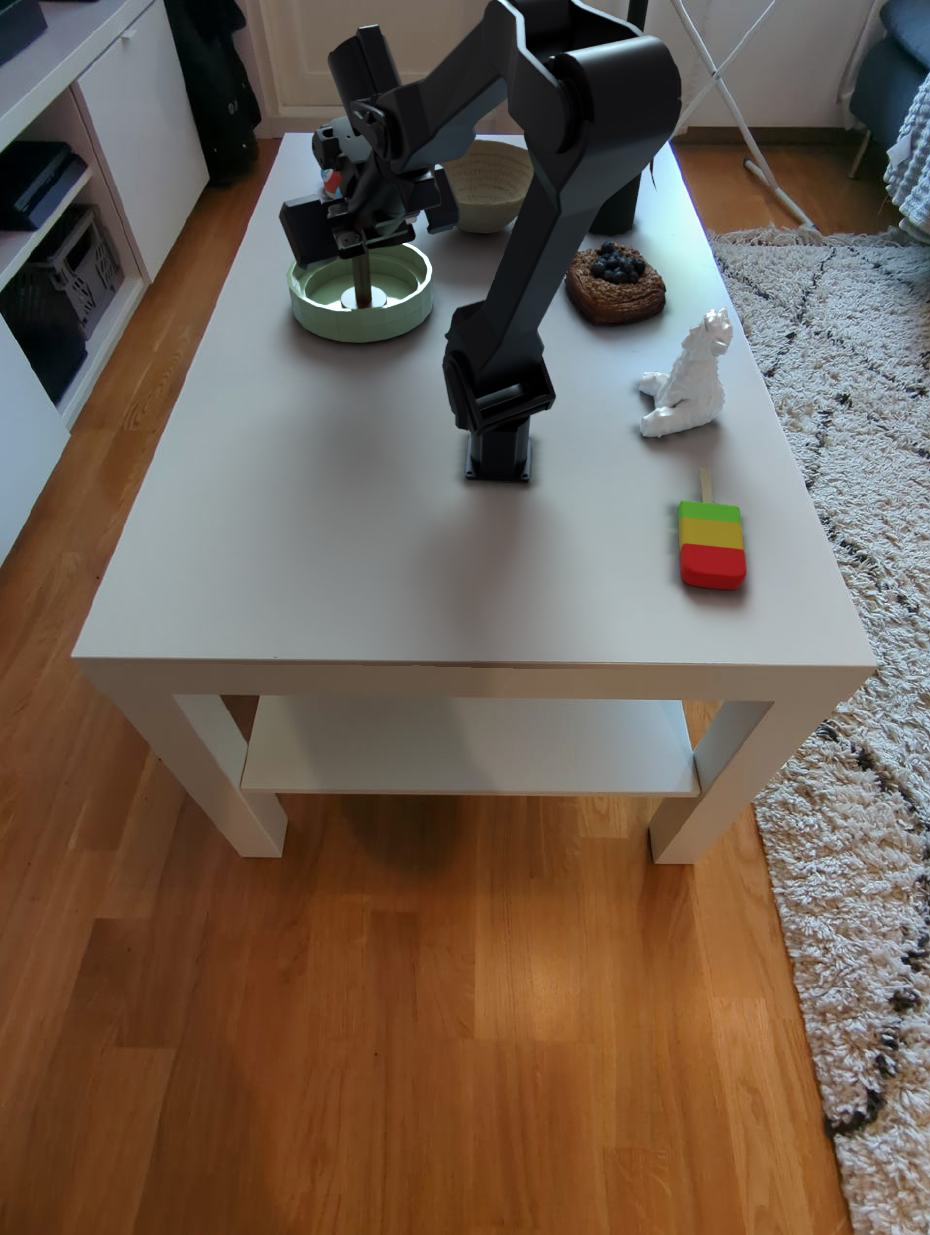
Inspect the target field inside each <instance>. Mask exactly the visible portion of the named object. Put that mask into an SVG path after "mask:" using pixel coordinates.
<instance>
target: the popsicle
mask: <svg viewBox="0 0 930 1235" xmlns="http://www.w3.org/2000/svg"><path fill="white" fill-rule="evenodd" d="M711 471H712V470H711V468H710V467H707V466H701V467H700V469H699V479H700V493H701V495H700V496H701V501H693V500H692V501H690V500H680V502H679V503H678V507H677V521H678V522H677V524H678V525H677V526H678V544H679V546H678V548H679V568H680V570H679V572H680V575H681V579H682V581H684V582H685V583H686V584H688V585H690V586H692V587H693V586H694V587H699V588H707V589H717V590H728V591H732V590H736V589H738V588H740V587H741V586H742V584H744V580H745V579H746V576H747V562H746V553H745V544H744V536H743V528H742V527H743V526H742V518H741V517H742V516H741V510H740V506H738V505H731V504H721V503H714V496H713V484H712V472H711Z"/></svg>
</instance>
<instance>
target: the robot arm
mask: <svg viewBox="0 0 930 1235" xmlns="http://www.w3.org/2000/svg"><path fill="white" fill-rule="evenodd" d="M626 21H627V20H624V19H621V18H619V17H616V16H614V15H611V14H609V13H607V12H604V11H602V10H600V9H597V8H594V7H592V6H590V5H587V4H585V3H583V2H582V1H581V0H490V1H488V2H487V4H486V6H485V8H484V12H483V15H482V17H481V18H480V19H479V20H478V21H477V23H475V24H474V26H472V28H471V29H470V30H469V31H468V32H467V33H466V34H465V35H464V36H463V37H462V38H461V39H460V40H459V41H458V43H456V45H455V46H454V47H453V48H451V50H450V51H449V52H448V53H447V54H446V55H445V56H444V57H443V58H442V60H441V61H439V63H438V64H437V65H435V67H434V68H433V69H432V70H431V71H430V72H428V74H427V75H426V76H425V77H424V78H421V79H419V80H415V81H413V82H410V83H406V84H403V81H402V77H401V76H400V71H399V70H398V66H397V63H396V61H395V58H394V54H393V52H392V50H391V46H390V44H389V41H388V38H387V37H386V35H384V34H383V33H382V30H381V28H380V25H379V24H377V23H376V24H371V25H366V26H361V27H357V29H356V32H355V35H353V36H351V37H349V38H347V39H345V40H344V41H343V42H341V43H340V44H338V45H337V46H336V47H335V48H334V49H333V50H332V51H330V52H329V53H328V55H327V60H326V61H327V62H326V63H327V65H328V68H329V70H330V74H331V76H332V79H333V81H334V85H335V87H336V89H337V92H338V95H339V98H340V100H341V103H342V105H343V108H344V111H345V114H346V116H340V117H335V118H333V119H330V120H329V122H328V123H325V124H321V125H320V128H318V129H316V130H315V131H314V133H313V135H312V137H311V151H312V154H313V156H314V159H315V160H316V161H317V164H318V166H319V168H320V170H321V169H322V170H328V169H332V170H333V171H334V172H339V174H340V176H341V181H340V183H339V185H338V187H339V190H340V192H341V195H342V197H341V198H337V199H333V198H332V199H329V200H325V201H323V202H321V199H320V198H319V197H318V196H317V195H316V194H315V193H314V194H309V195H305V196H302V197H297V198H294V199H293V198H292V199H289V200H286V201H283V203H282V205H281V207H280V211H279V214H278V219H279V222H280V224H281V226H282V229H283V231H284V232H283V233H284V234H285V237H286V239H287V241H288V245H289V247H290V250H291V252H292V255H293V256H294V260H296V262H297V265H298V267H300V268H302V269H303V270H305V271H306V270H310V269H313V268H317V267H320V266H324V265H327V264H329V263H331V262H333V261H335V260H336V259H337V257H339V258H340V259H341V260H348V259H351V258H355V257H358V256H362V255H365V254H366V253H365V250H364V248H363V245H362V242H363V241H364V243H365V245H366V244H368V248H369V249H377V248H385V247H394V246H397V245H401V244H405V243H408V244H409V243H412V242H413V241H415V240H416V237H417V234H416V231H415V229H414V225H413V224H414V223H416V222H417V221H418V217H419V215H420V214H421V212H422V211H423V212H424V214H425V217H426V220H427V223H428V225H427V226H426V231H427V234H428V235H431V236H435V235H437V234H440V233H444V232H449V231H451V230H453V229H454V228H455V227H457V226H456V224H457V223H458V222H459V219H460V207H459V204H458V201H457V198H456V195H455V192H454V190H453V187H452V184H451V181H450V178H449V175H448V172H447V171H446V170H445V169H444V168H443V167H442V166H440V165H439V164H441V163H445V162H449V161H453V160H457V159H460V158H461V157H462V156H463V155H464V154H465V152H466V151H467V149H468V148H469V147H470V145H471V144H472V143H473V141H474V140H475V139H476V137H477V133H476V129H475V126H476V125H477V124H478V123H479V121H481V119H483V118H484V117H486V116H487V115H488V114H489V113H491V112H492V111H493V110H494V109H495V108H497V107H498V106H499V105H501V104H502V103H503V102H505V101H506V100H507V113H508V115H509V117H510V118H511V119H512V120H513V122H515V123H516V124H517V125H518V127H520V129H522V131H523V140H524V142H525V146H526V150H528V152H529V156H530V159H531V162H532V165H533V168H534V173H533V177H532V180H531V183H530V185H529V188H528V190H527V193H526V196H525V198H524V201H523V203H522V206H521V209H520V211H519V214H518V216H517V217H516V218H515V222H514V225H513V227H512V229H511V233H510V235H509V237H508V241H507V243H506V245H505V248H504V250H503V253H502V255H501V258H500V260H499V264H498V266H497V268H496V270H495V274H494V276H493V279H492V281H491V284H490V287H489V289H488V292H487V295H486V296H485V298H483V299H480V300H477V301H474V302H471V303H467V304H464V305H462V306H457V307H456V309H455V310H454V311H453V313H452V315H451V321H450V325H449V329H448V331H447V332H446V333H444V338H445V339H446V340H447V342H446V345H445V348H444V355H443V357H442V364H441V366H442V373H443V378H444V383H445V389H446V392H447V393H446V394H447V399H448V405H449V407H450V411H451V413H452V414H454V425H455V426H456V428H457V429H458V430H463V431H469V433H470V434H468V436H467V446H466V448H467V449H466V454H465V455H466V457H465V467H464V478H465V479H466V480H469V481H486V482H487V481H488V482H506V483H529V482H531V467H532V466H531V464H532V463H531V462H532V437H530V426H531V416H533V415H536V414H538V413H541V412H544V411H545V412H547V411H548V410H551V409H552V407H553V405H554V404H555V401H556V399H557V393H556V391H555V389H554V388H555V387H554V385H553V382H552V379H551V377H550V373H549V371H548V367H547V365H546V361H545V359H544V356H543V354H544V351H545V345H544V344H545V343H544V341H543V340H542V338H541V335H540V333H539V330H538V329H539V327H540V325H541V324H542V321H543V319H544V317H545V315H546V313H547V312H548V309H549V308H550V305H551V303H552V302H553V300H554V298H555V296H556V294H557V292H558V290H559V288H560V286H561V284H562V282H563V281H564V279H565V278H566V273H567V271H568V269H569V267H570V265H571V263H572V261H573V259H574V257H575V255H576V253H577V252H578V251H579V249H580V248H581V245H582V244H583V242H584V240H585V238H586V236H587V234H588V233H589V232H588V230H589V228H590V226H591V224H592V222H593V220H594V219H595V217H596V215H597V213H598V211H599V209H600V207H601V205H602V204H603V203H604V202H605V201H606V200H607V199H608V198H609V197H611V196H612V195H613V194H614V193H616V192H617V191H618V190H619V189H621V188H622V187H623V186H624V185H626V184H627V183H628V182H629V181H631V180H632V179H633V178H634V177H636V176H637V175H638V174H639V173H641V172H642V173H643V171H645V169H646V168H647V167H648V165H650V162H651V160H652V159H653V158H654V159H655V157H656V155H658V153H659V152H660V151H661V149H662V148H663V147H664V145H665V144H666V143H667V142H668V141H669V140H670V138H671V137H672V135H673V133H674V132H675V130H676V127H677V125H678V122H679V119H680V116H681V111H682V108H683V101H682V94H683V93H682V92H683V90H682V87H683V86H682V77H681V74H680V70H679V67H678V65H677V64H676V62H675V60H674V58H673V56H672V54H671V51H670V48H668V46H667V45H666V44H665V43H664V41H663V40H662V39H661V38H659V37H656V36H654V35H652V34H645V32H644V33H643V32H642V31H641V30H639V29H638V28H637V27H636V26H634V25H633V24H631V23H629V22H626ZM345 198H348V201H349V202H346V200H345Z"/></svg>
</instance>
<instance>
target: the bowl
mask: <svg viewBox="0 0 930 1235" xmlns="http://www.w3.org/2000/svg"><path fill="white" fill-rule="evenodd" d="M439 165H440V166H442V167H443V168H444V169H445V170H446V171H447V172H448V175H449V178H450V181H451V184H452V187H453V190H454V192H455V195H456V198H457V201H458V204H459V207H460V219H459V222H458V223H457V224H456V226H455V227H457V228H458V229H461V230H463V231H465V232H469V233H474V234H492V233H496V232H499V231H501V230H502V229H504V228H506V227H507V226H508V225H510V224H511V223H512V222H514V220H516V219H517V216H518V214H519V211H520V209H521V206H522V203H523V201H524V198H525V196H526V193H527V190H528V188H529V185H530V183H531V180H532V177H533V173H534V168H533V165H532V162H531V159H530V156H529V152H528V149H527V148H523V147H521V146H517V145H514V144H511V143H507V142H504V141H499V140H492V139H491V140H490V139H481V138H480V139H479V138H477V139H476V138H475V140H474V141H473V143H472V144H471V145H470V147H469V148H468V149H467V151H466V152H465V154H464V155H463V156H462V157H461V158H460V159H457V160H453V161H449V162H445V163H441V164H439Z"/></svg>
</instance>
